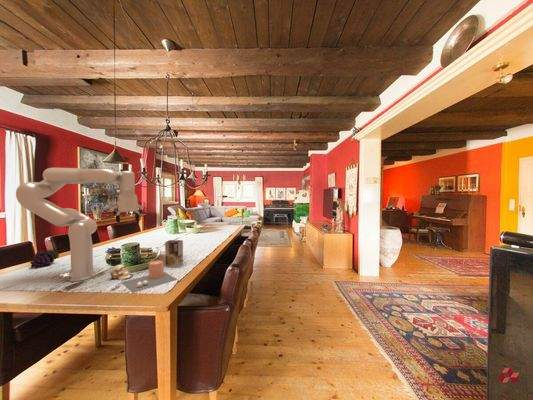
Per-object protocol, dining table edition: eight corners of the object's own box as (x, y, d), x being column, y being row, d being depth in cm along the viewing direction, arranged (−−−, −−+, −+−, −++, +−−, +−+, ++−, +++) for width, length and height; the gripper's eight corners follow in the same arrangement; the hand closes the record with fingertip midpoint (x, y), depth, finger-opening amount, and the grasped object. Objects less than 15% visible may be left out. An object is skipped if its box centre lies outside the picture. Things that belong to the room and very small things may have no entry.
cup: (152, 279, 121) (152, 265, 121) (147, 276, 126) (147, 262, 126) (165, 276, 126) (165, 262, 126) (160, 273, 131) (159, 259, 131)
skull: (139, 273, 130) (130, 263, 123) (128, 290, 123) (118, 281, 116) (122, 270, 132) (111, 261, 125) (110, 287, 125) (99, 279, 118)
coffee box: (183, 264, 149) (183, 240, 148) (178, 267, 142) (178, 242, 142) (170, 263, 150) (170, 239, 149) (165, 267, 143) (164, 241, 143)
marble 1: (137, 288, 111) (137, 283, 111) (136, 286, 112) (136, 282, 112) (143, 286, 113) (143, 282, 112) (141, 285, 114) (141, 280, 114)
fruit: (29, 273, 139) (51, 260, 153) (45, 271, 138) (65, 258, 153) (21, 259, 136) (44, 247, 150) (37, 256, 135) (59, 244, 150)
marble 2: (143, 286, 113) (143, 281, 113) (141, 285, 114) (141, 280, 114) (148, 285, 115) (148, 280, 114) (147, 283, 116) (146, 279, 116)
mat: (132, 294, 106) (132, 292, 106) (120, 283, 118) (120, 282, 118) (177, 280, 122) (177, 279, 122) (163, 272, 134) (163, 271, 134)
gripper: (111, 192, 123) (112, 223, 124) (145, 192, 136) (145, 220, 136) (107, 192, 128) (108, 222, 129) (141, 192, 141) (141, 219, 141)
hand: (127, 221), depth 133 cm, fingers open, 9 cm apart
